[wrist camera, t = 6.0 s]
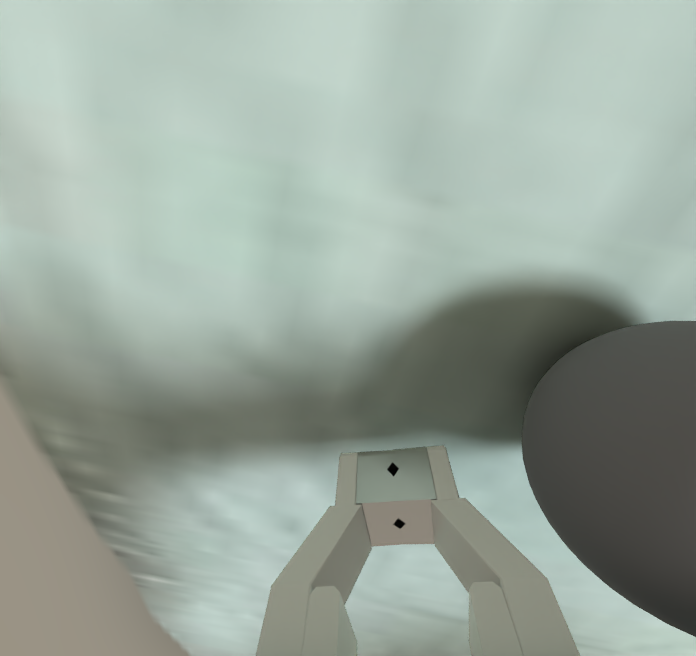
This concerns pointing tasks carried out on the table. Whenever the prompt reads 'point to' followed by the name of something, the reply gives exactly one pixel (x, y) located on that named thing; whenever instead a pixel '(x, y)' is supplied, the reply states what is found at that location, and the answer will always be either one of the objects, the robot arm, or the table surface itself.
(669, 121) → the table surface
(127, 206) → the table surface
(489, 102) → the table surface
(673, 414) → the dark grey ball
